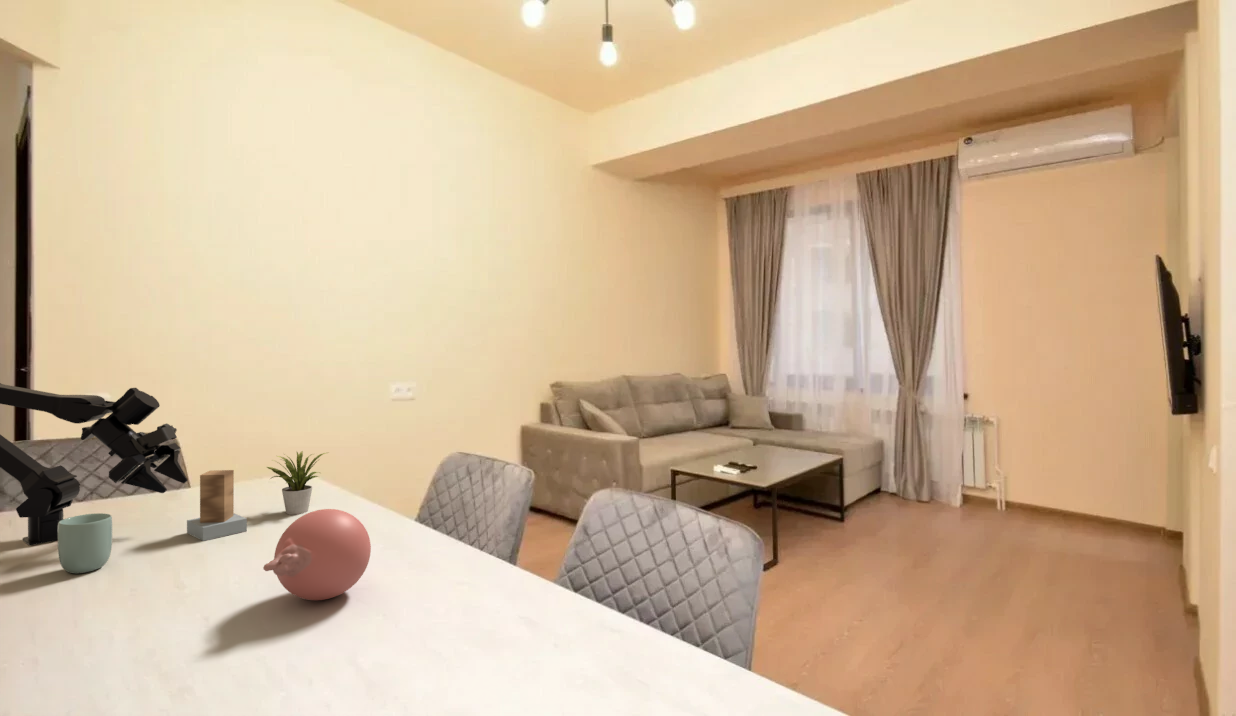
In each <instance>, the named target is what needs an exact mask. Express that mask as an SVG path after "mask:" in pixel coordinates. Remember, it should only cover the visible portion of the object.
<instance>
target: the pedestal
mask: <svg viewBox="0 0 1236 716" xmlns="http://www.w3.org/2000/svg"><path fill="white" fill-rule="evenodd" d="M247 523H248V518H247V517H244V516H241V515H240V514H236V513H234V516H233V517H231V518H230V519H228V520H227V521H225V522H213V523H200V517H197V518H192V519H187V520H186V533H187V534H188V535H190V536H192V537H194V538H196V539H199V540H201V541H203V542H205V541H210V540H213V539H218V538H222V537H227V536H231V535H235V534H239V533H244V532H247V530H248V525H247Z"/></svg>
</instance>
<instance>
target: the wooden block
mask: <svg viewBox="0 0 1236 716" xmlns="http://www.w3.org/2000/svg"><path fill="white" fill-rule="evenodd" d="M234 474H235V473H234V469H226V470H225V469H221V470H219V469H218V470H209V471H207V472H204V473H201V474H200V475H199V478H200V479H199V503H200V504H199V518H200V523H213V522H225V521H227V520H228V519H230V518H231V517H233V516H234V514H235V513H234V510H235V507H234V504H235V503H234V501H235V500H234V490H235V488H234V486H235V485H234V478H235V477H234Z"/></svg>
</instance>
